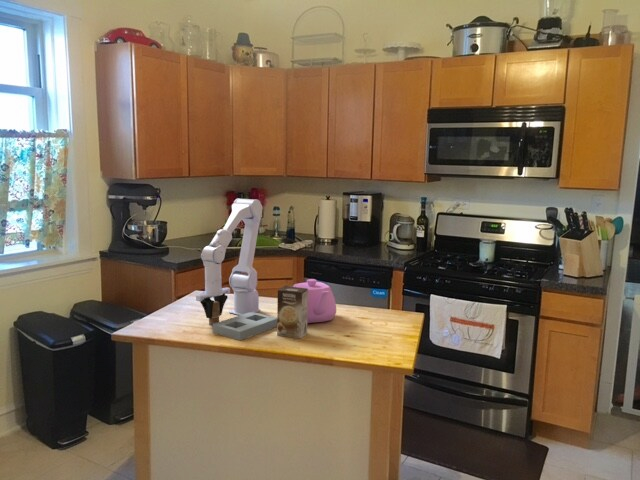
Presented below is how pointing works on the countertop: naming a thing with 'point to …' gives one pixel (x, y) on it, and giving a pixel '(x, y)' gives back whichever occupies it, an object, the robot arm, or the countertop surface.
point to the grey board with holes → (245, 325)
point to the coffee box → (292, 311)
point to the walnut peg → (215, 313)
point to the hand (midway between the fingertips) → (213, 316)
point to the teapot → (319, 301)
